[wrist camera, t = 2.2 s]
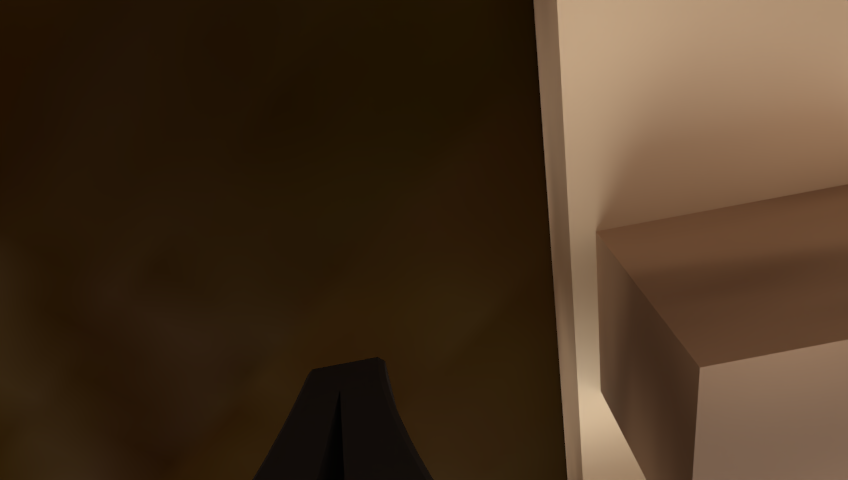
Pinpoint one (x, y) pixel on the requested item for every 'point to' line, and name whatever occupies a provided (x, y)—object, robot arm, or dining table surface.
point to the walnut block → (730, 339)
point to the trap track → (672, 146)
